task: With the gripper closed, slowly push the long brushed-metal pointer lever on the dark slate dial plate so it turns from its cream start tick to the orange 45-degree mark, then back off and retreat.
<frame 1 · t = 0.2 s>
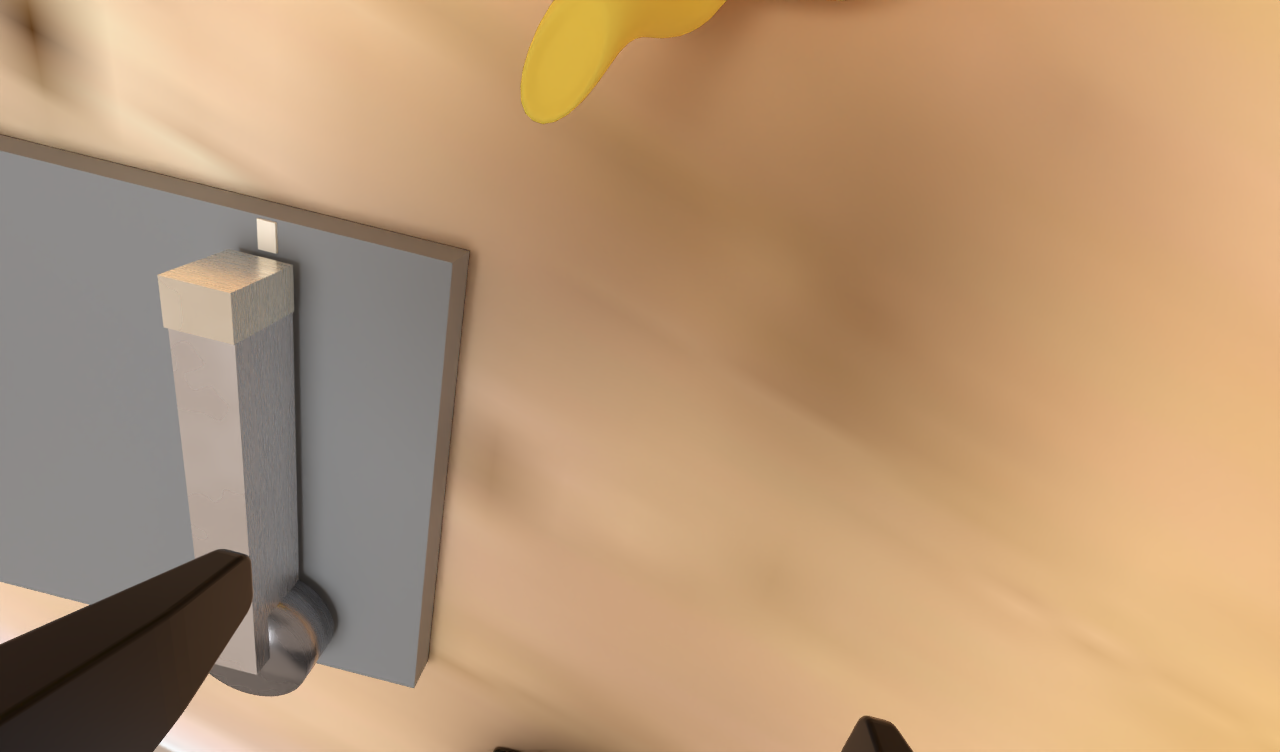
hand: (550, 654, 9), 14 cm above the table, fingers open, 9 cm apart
dial plate: (204, 429, 26), on the table
dial lever: (246, 511, 23), point 3 cm above the table, hinge at 0.0°
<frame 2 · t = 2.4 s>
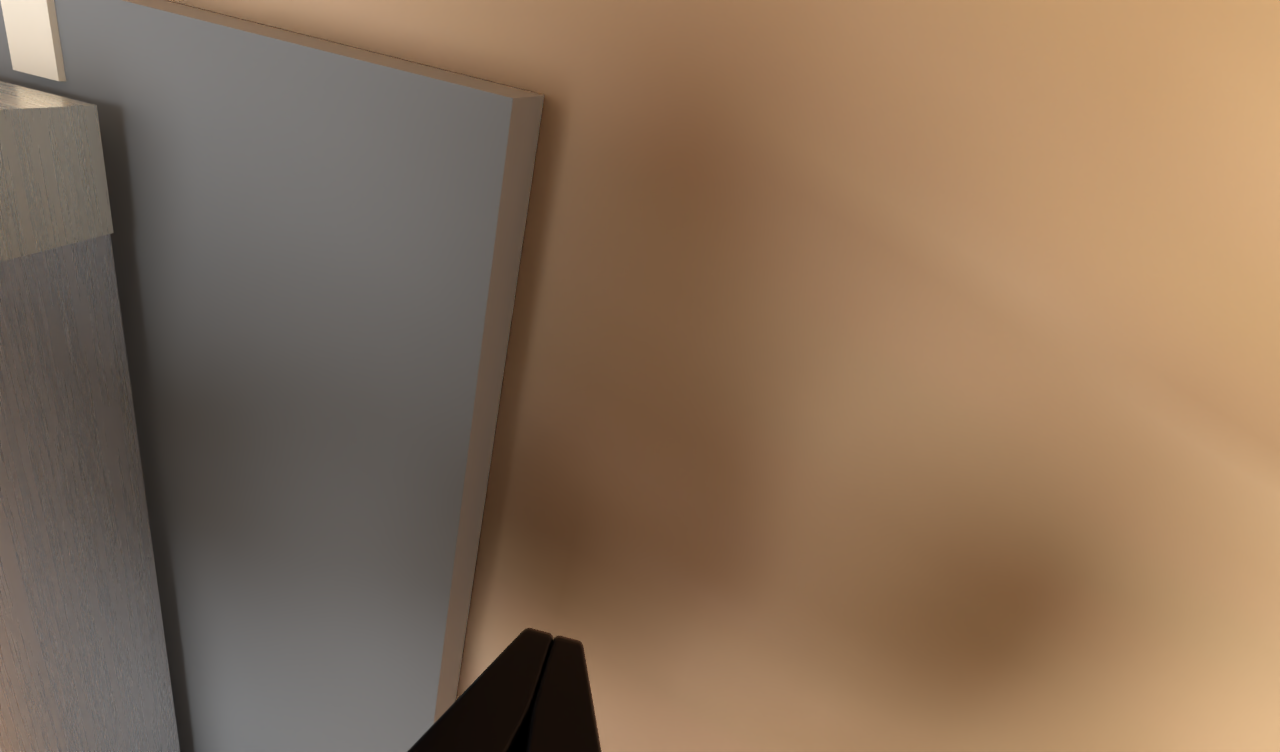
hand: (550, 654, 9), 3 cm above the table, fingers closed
dial plate: (1, 491, 13), on the table
dial lever: (35, 688, 11), point 3 cm above the table, hinge at 0.0°
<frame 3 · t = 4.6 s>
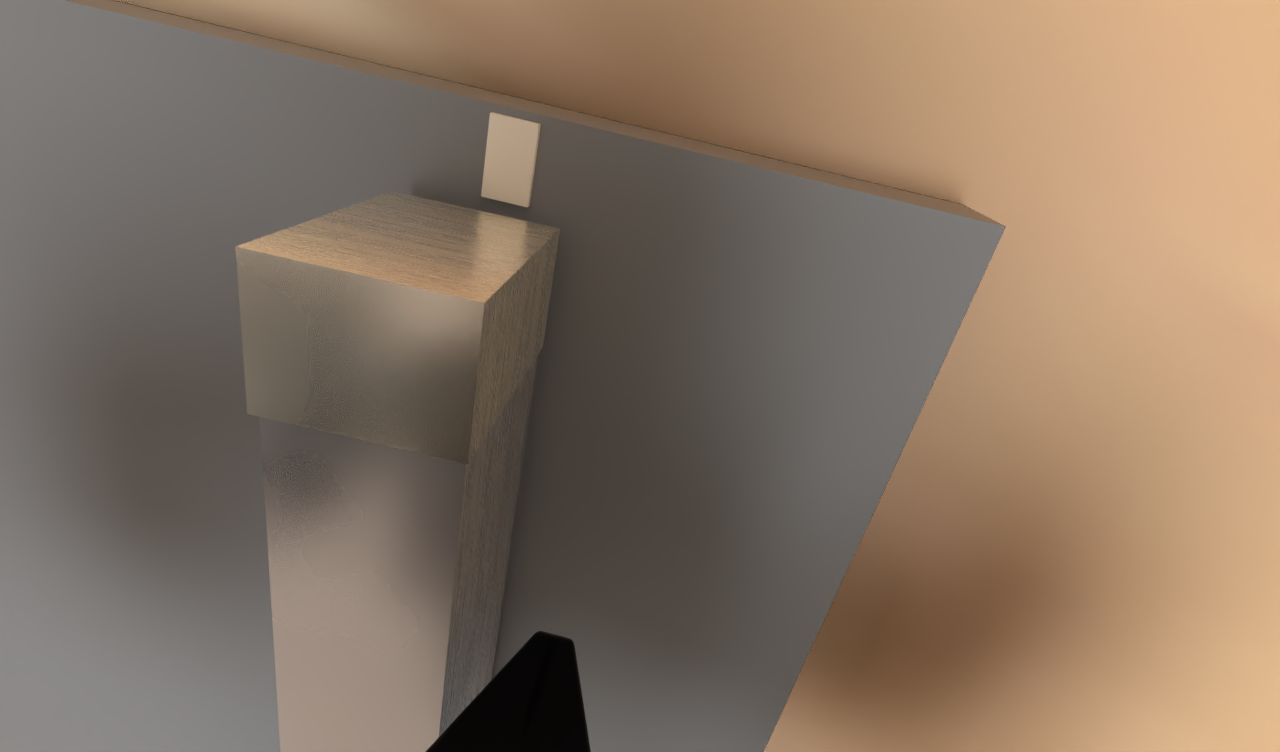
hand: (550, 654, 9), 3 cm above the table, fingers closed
dial plate: (285, 571, 13), on the table
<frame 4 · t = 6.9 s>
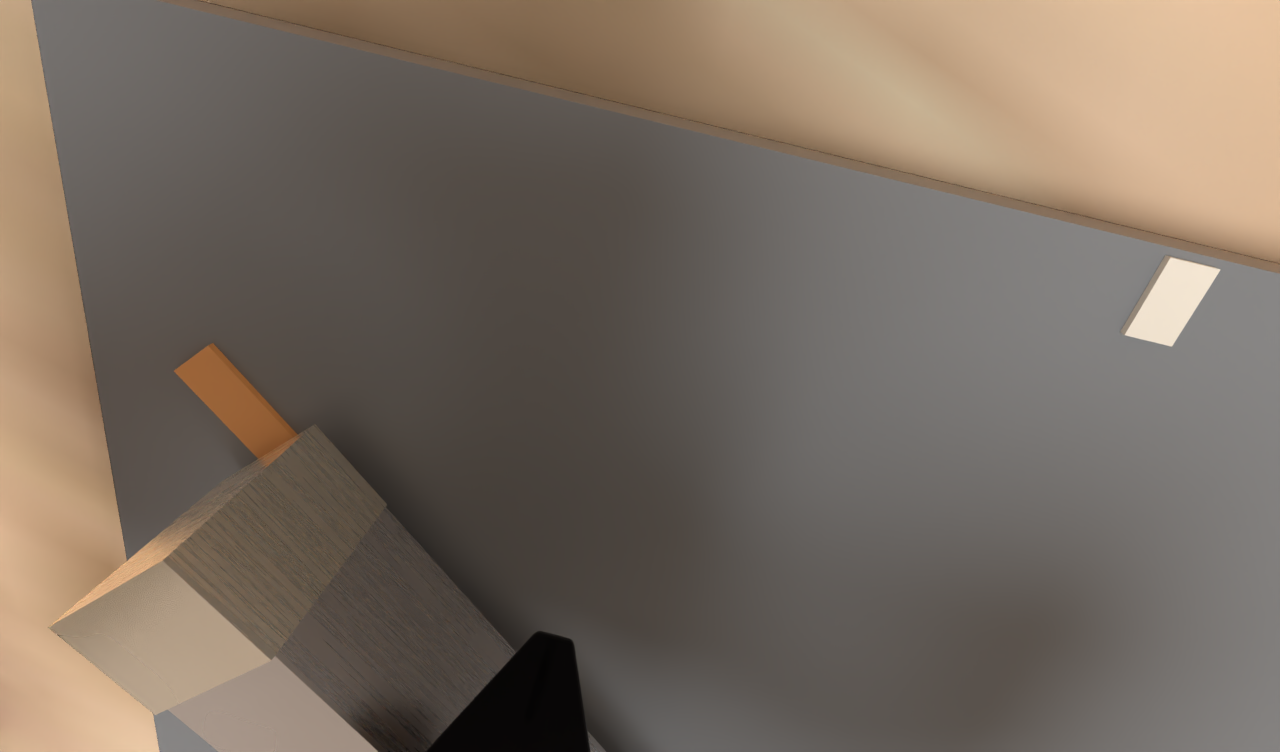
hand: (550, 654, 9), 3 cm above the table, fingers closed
dial plate: (670, 657, 13), on the table
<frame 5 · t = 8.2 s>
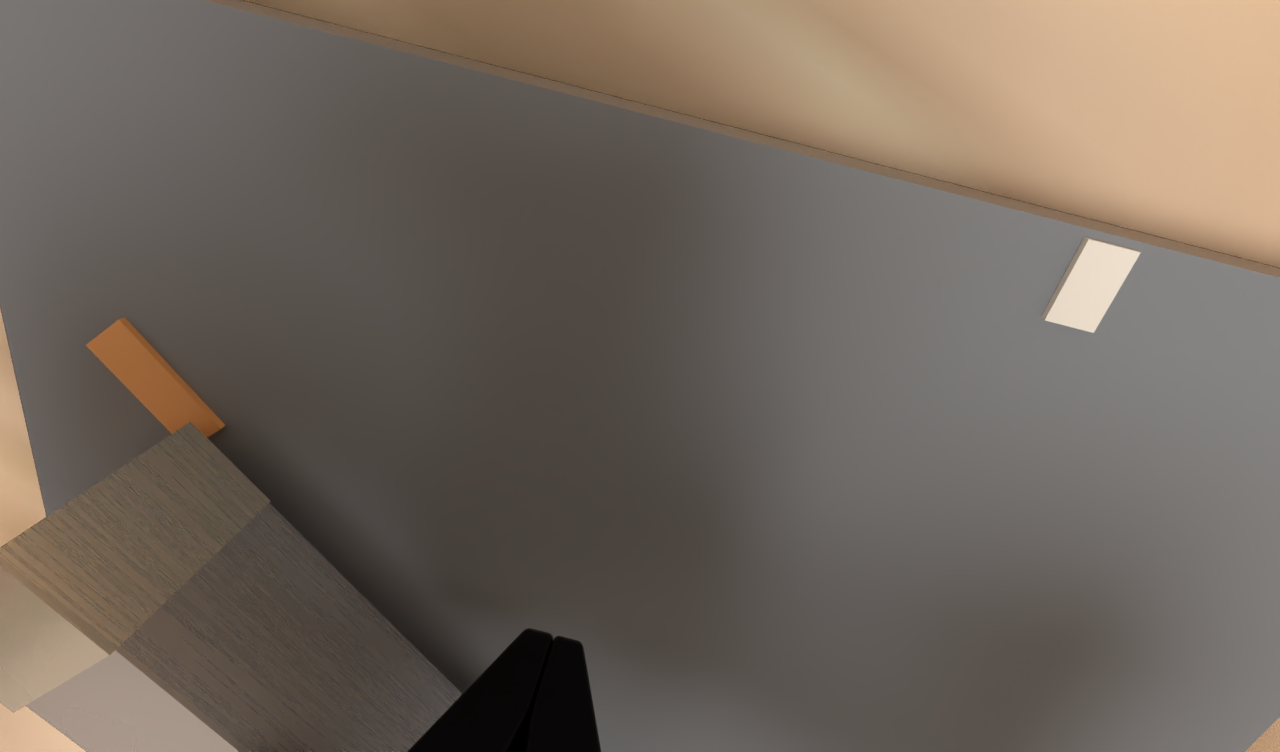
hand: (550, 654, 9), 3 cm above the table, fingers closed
dial plate: (610, 650, 13), on the table
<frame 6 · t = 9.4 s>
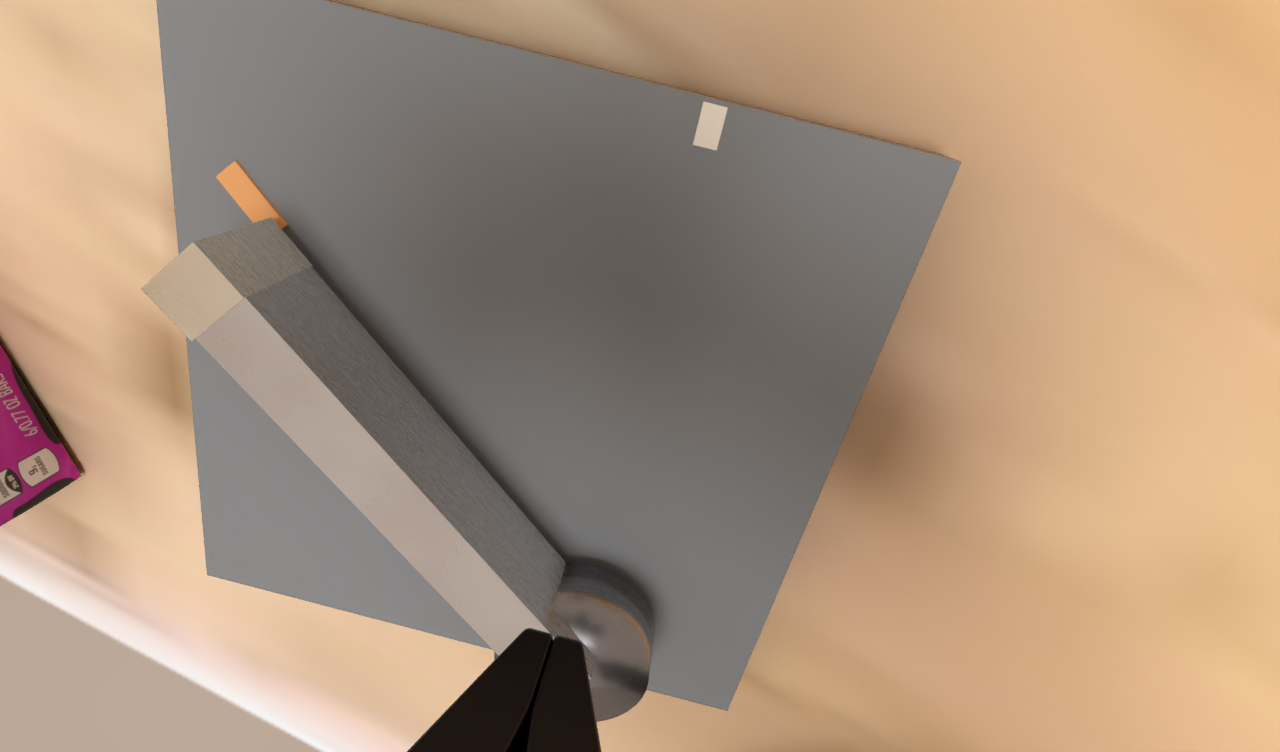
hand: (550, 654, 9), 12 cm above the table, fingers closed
dial plate: (515, 392, 21), on the table
dial lever: (441, 507, 19), point 3 cm above the table, hinge at 47.4°
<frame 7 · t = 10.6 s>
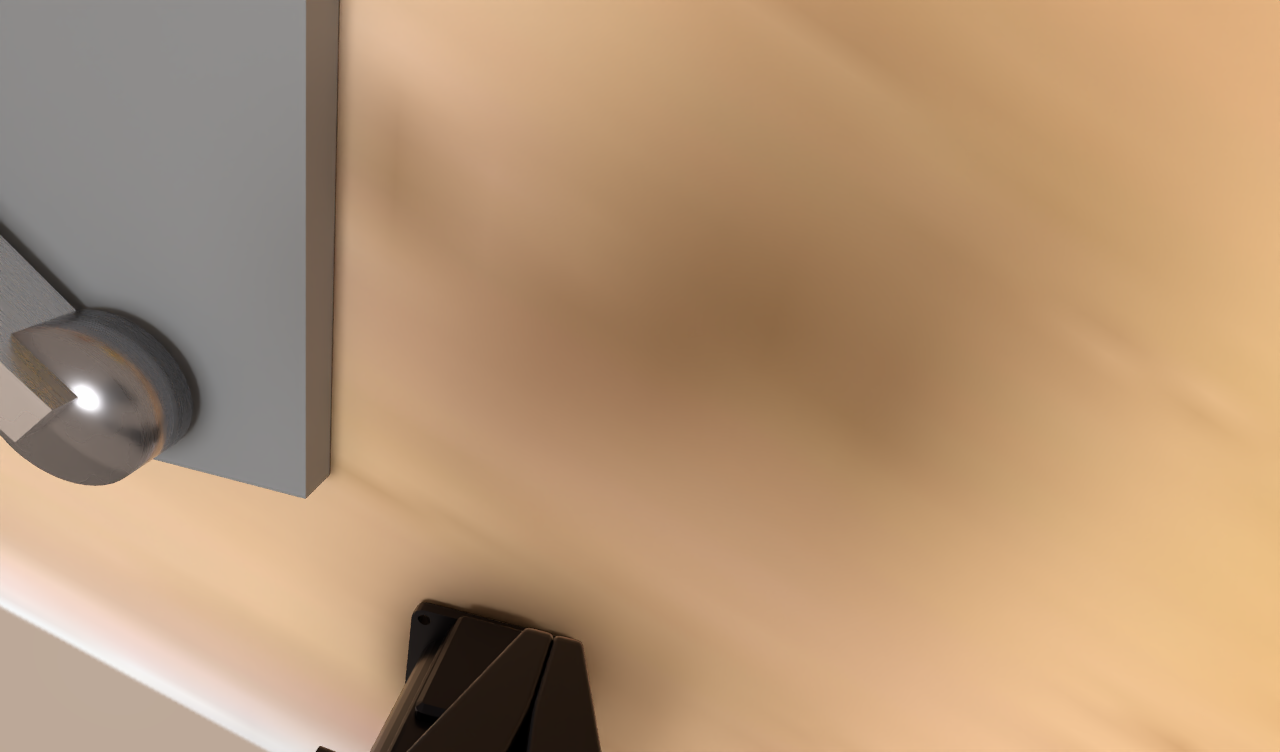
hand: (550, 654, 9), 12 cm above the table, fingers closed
dial plate: (13, 120, 20), on the table
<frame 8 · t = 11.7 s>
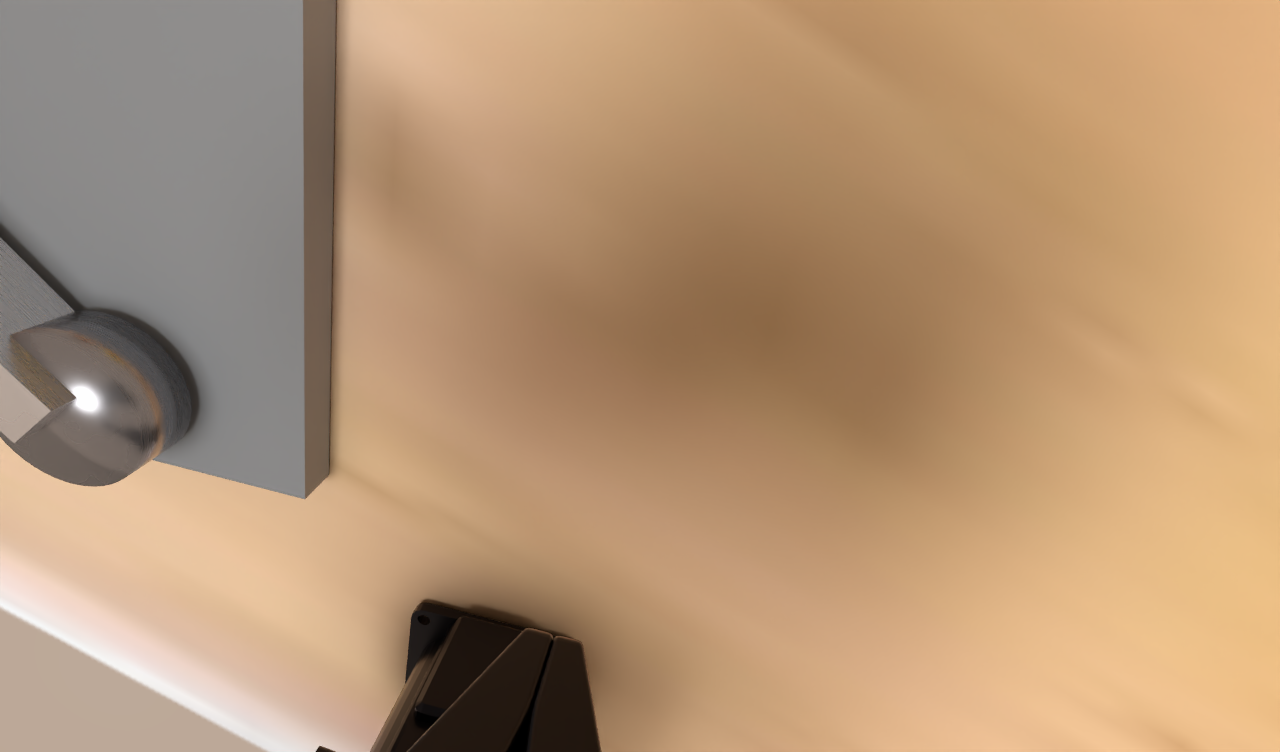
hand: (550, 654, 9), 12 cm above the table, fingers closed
dial plate: (11, 121, 20), on the table
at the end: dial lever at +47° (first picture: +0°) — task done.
